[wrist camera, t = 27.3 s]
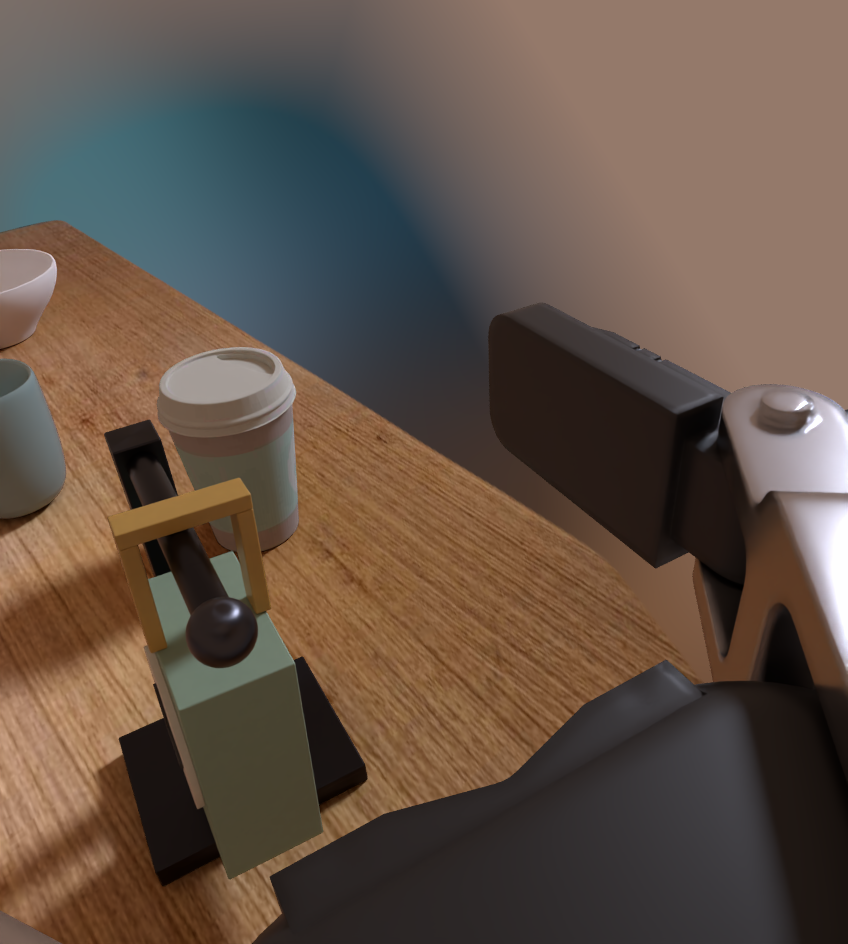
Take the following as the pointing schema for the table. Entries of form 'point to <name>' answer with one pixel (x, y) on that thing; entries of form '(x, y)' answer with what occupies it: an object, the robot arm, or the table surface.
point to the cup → (27, 444)
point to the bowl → (23, 292)
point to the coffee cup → (236, 433)
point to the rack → (215, 645)
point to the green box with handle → (225, 687)
